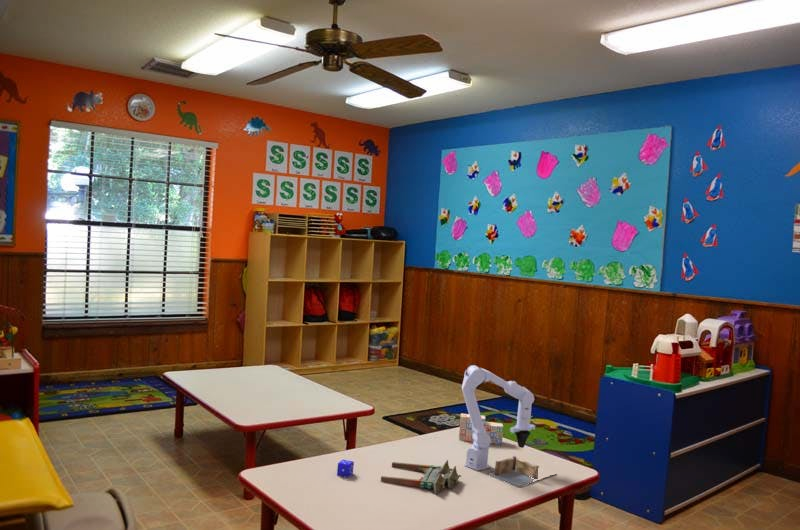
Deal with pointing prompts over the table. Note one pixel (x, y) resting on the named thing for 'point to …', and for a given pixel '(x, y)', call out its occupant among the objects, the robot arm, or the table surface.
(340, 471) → the die
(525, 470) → the oak fence section
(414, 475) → the table surface
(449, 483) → the miniature gate
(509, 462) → the walnut fence section
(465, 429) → the stack of blocks
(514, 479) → the board
